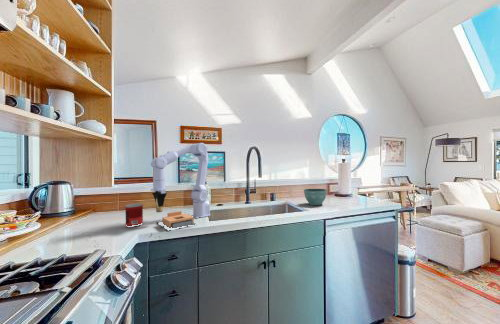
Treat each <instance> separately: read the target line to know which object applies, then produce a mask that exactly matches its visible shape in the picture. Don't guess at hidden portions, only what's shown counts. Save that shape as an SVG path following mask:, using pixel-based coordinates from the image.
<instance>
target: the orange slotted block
mask: <svg viewBox="0 0 500 324" xmlns="http://www.w3.org/2000/svg"><path fill="white" fill-rule="evenodd" d="M180 218H181V219H180ZM194 219H195V218H194V217H192V216H191V215H190V214H187V213H182V210H178V211H172V212H167V216H163V217H162V219H161V221H162V222H163V224H164V225H166V226H167V227H169V228H171V223H175V222H181V221H186V220H193V223H195V221H194Z"/></svg>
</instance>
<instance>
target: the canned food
mask: <svg viewBox="0 0 500 324" xmlns="http://www.w3.org/2000/svg"><path fill="white" fill-rule="evenodd" d="M143 215H144V212H143V203H141V202H140V203H139V202H138V203H130V204H126V205H125V226H126V225H127V226H132V225H138V224H141V223H144V219H143V218H144V216H143Z"/></svg>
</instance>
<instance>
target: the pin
mask: <svg viewBox="0 0 500 324" xmlns="http://www.w3.org/2000/svg"><path fill="white" fill-rule="evenodd" d="M155 212H156V213H161V212H163V206H162V207H158V203H157V198H156V202H155Z"/></svg>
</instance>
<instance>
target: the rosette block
mask: <svg viewBox="0 0 500 324" xmlns="http://www.w3.org/2000/svg"><path fill="white" fill-rule="evenodd" d="M180 219H181V218H180ZM195 224H196V223H195V222H194V223H193V220H186V221H181V222H175V223H171V227H172V228H177V227H182V226H188V225H195Z"/></svg>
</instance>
